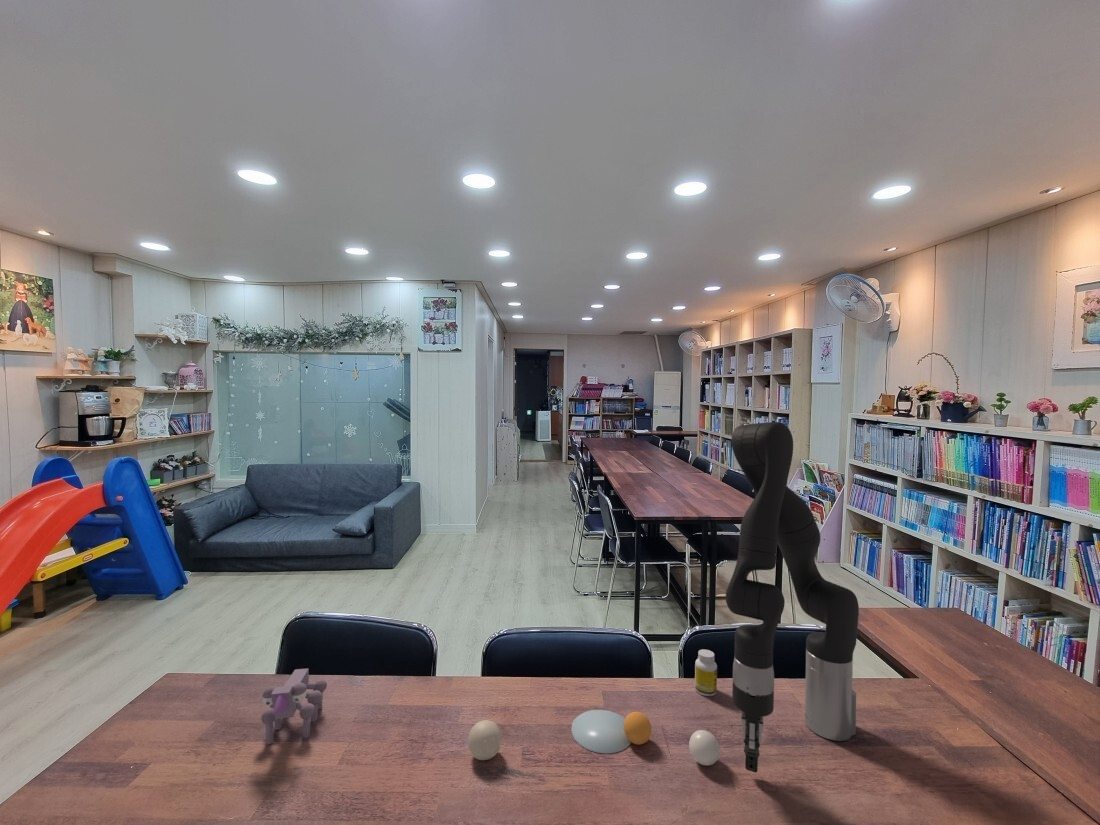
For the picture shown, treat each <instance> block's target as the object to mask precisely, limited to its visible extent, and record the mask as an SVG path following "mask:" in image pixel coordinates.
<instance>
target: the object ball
mask: <svg viewBox="0 0 1100 825" xmlns="http://www.w3.org/2000/svg"><path fill="white" fill-rule="evenodd" d="M624 718H625V721H624V732H625V735H626V737H627V738H628V739H629V740H630V741H631V742H632V743H631V744H634V745H638V746H639V745H644V744H645V743H647V742H648V741H649V740H650V738H651V735H652V723H651V721H650V720H649V717H648V716H647V715H646V714H644V713H643V712H640V711H632V712H630V713H628V714H627V715H626V717H624Z"/></svg>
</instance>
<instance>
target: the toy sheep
mask: <svg viewBox="0 0 1100 825" xmlns="http://www.w3.org/2000/svg"><path fill="white" fill-rule="evenodd" d="M309 676H310V675H309V668H296V669H294V670H293V672H292V673H291V675H290V677H289V678H288V680H287V681H286V683H284V684H283V685H281V686H276V685H269V686H268V687H267V688H266V689H264V690H263V693H262V703H263V704H264V705H266V706H269V708H266V709H265V710H264V711H263V712H262V714H261V716H260V719H261V722H262V723H263V724H264V725H265V745H270V744H273V743H274V731H278V730H280V729H282V719H286V718H294V717H295V716H294V715H295V714H296V712H297V711H298V712H299V717H300V718H301V719H303V720H302V723H303V725H302V738H304V739H307V738H309V737H310V736H309V735H310V734H311V732H310V731H311V723H315V721H316V720H317V721H318V713H319V712H318V711H320V710H321V708H322V709H323V695H324V692H325V691H326V690H327V686H328V684H327V681H326V680H325V679H321V678H320V679H317V680H316V681H315V682H309V681H310V680H309V678H310V677H309ZM308 690H309V691H308ZM310 690H312V691H310ZM304 699H307V700H306V701H307V703H306V704H305V703H303V701H304ZM319 709H320V710H319ZM317 721H316V722H317Z"/></svg>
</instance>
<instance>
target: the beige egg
mask: <svg viewBox="0 0 1100 825" xmlns="http://www.w3.org/2000/svg"><path fill="white" fill-rule="evenodd" d="M467 739H468V740H467V741H468V749H469V751H470V753H471V755H472V757H473V758H475V759H476V760H478V761H488V760H490V759H492V758H494V757H495V756H496V755H497V754H498V752H499V751H500V748H501V745H502V734H501V731H500V728H499V726H498V725H497V724H496V723H495V722H494V721H493V720H492V721H491V720H487V719H485V720H480V721H478V722H476V723H475V724H474V725H473V726H472V727H471V729H470V731H469V734H468V738H467Z"/></svg>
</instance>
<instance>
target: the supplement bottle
mask: <svg viewBox="0 0 1100 825" xmlns="http://www.w3.org/2000/svg"><path fill="white" fill-rule="evenodd" d="M697 653H698V654H697V655H698V656H697V659H696V660H695V664H694V673H695V674H694V690H695V691H696V692H697V693H698V694H699V695H701V696H705V697H712V696H714V695H715V696H716V694H717V690H718V689H717V688H718V686H717V684H718V679H717V678H718V665H717V663H716V661H715V653H714V652H713V651H711V650H709V649H703V648H702V649H699V650H698V652H697Z"/></svg>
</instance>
